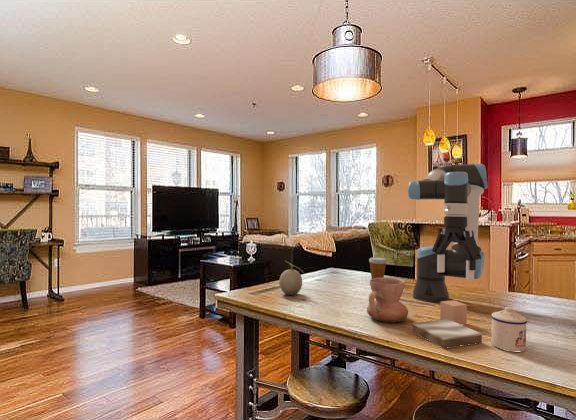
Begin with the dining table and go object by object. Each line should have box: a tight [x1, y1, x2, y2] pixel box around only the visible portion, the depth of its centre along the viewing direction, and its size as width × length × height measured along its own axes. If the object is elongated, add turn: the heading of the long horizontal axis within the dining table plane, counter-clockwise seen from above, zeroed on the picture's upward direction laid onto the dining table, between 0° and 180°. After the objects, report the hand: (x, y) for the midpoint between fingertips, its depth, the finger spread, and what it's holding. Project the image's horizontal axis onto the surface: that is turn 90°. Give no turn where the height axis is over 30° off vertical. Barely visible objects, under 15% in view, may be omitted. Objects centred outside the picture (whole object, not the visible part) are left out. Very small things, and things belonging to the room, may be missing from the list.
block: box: [439, 299, 468, 324], centre depth 126 cm, size 6×6×7 cm
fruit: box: [278, 260, 305, 296], centre depth 163 cm, size 10×12×15 cm
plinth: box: [412, 319, 483, 349], centre depth 112 cm, size 14×14×3 cm
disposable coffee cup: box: [368, 256, 387, 279], centre depth 195 cm, size 10×10×12 cm
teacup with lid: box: [490, 306, 528, 352], centre depth 105 cm, size 12×9×12 cm
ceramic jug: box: [366, 276, 409, 323], centre depth 129 cm, size 18×14×14 cm
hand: (454, 275), depth 126 cm, fingers open, 13 cm apart
